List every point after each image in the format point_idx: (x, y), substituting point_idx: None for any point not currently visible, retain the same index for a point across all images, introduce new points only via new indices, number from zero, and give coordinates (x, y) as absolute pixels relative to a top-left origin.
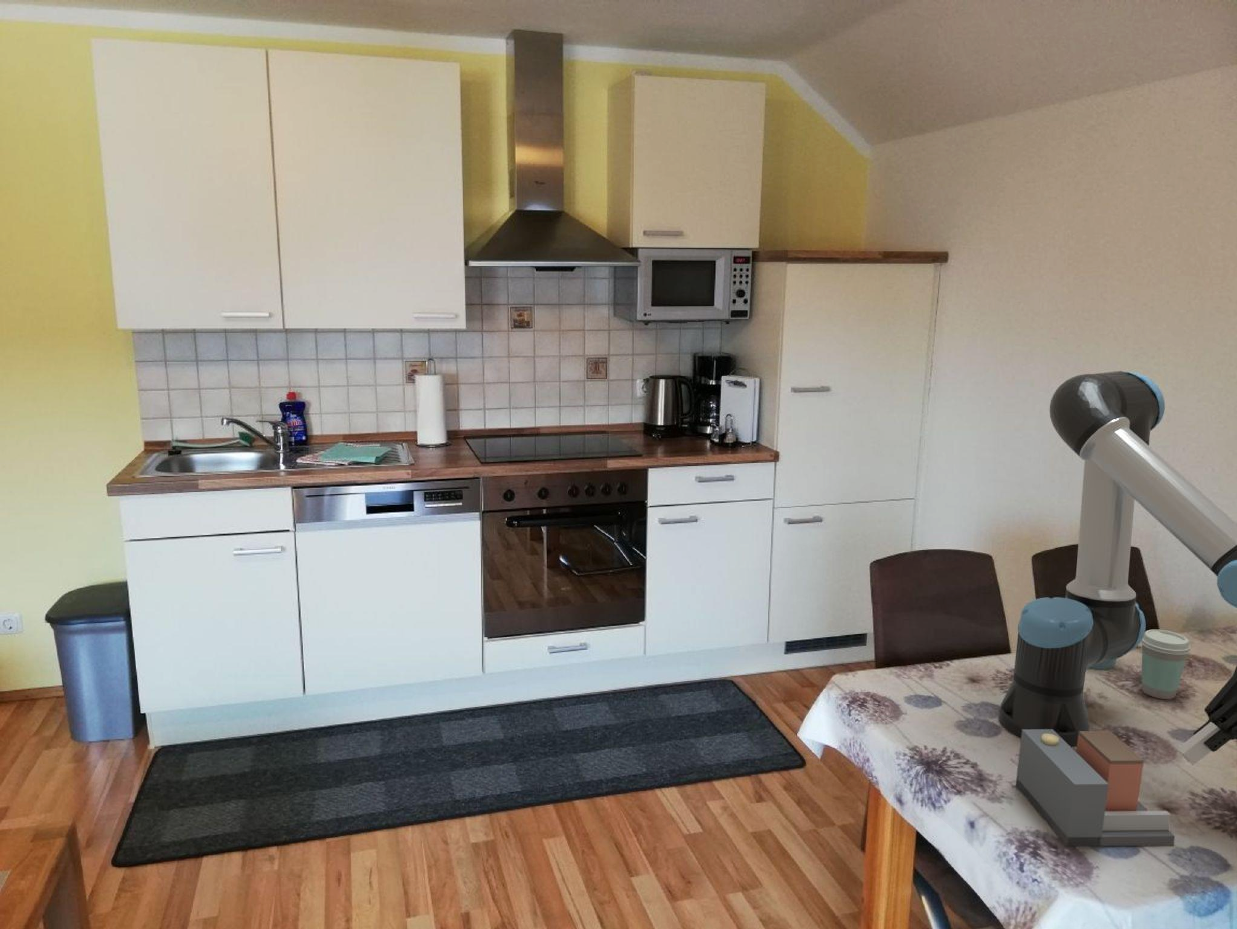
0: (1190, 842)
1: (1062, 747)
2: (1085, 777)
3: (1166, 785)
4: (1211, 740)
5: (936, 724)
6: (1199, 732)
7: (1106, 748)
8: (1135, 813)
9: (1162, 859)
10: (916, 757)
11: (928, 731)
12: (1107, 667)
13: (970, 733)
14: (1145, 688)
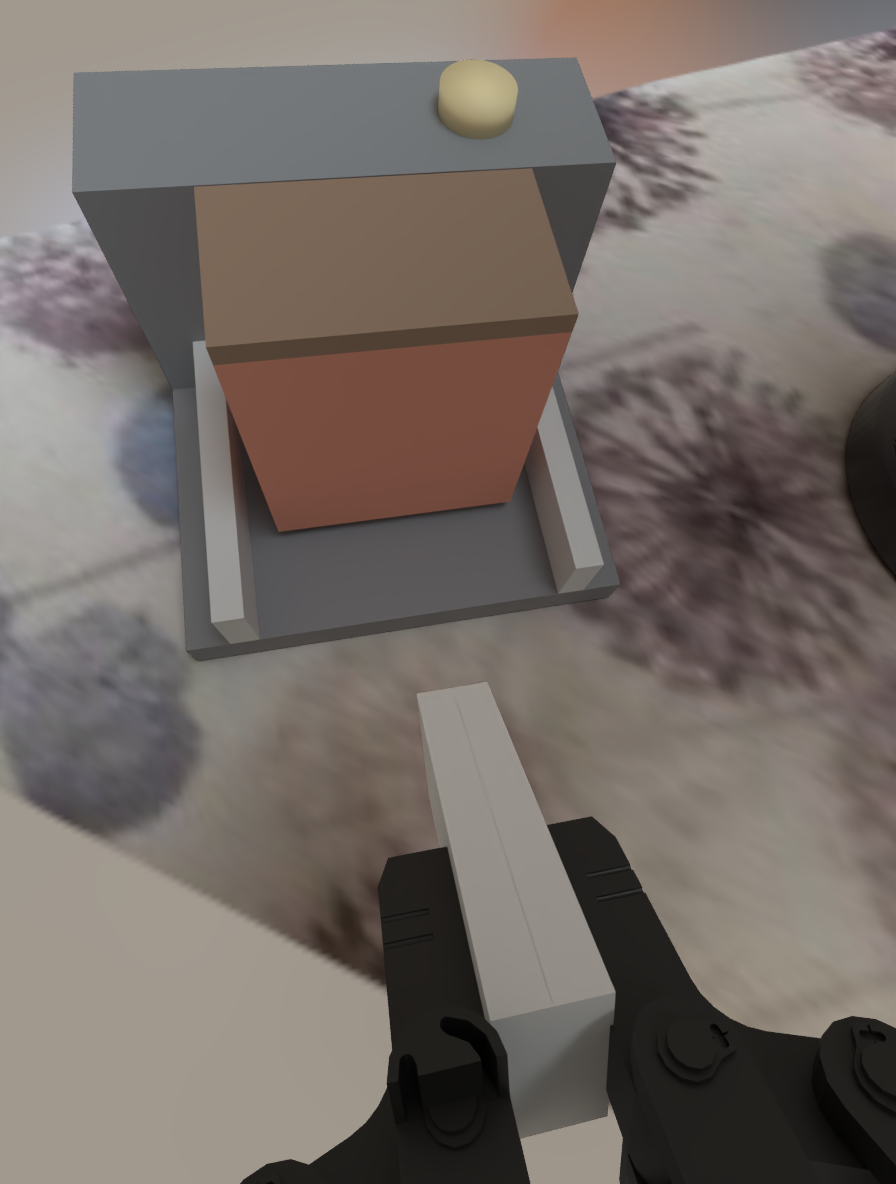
0: (222, 739)
1: (428, 139)
2: (139, 130)
3: (668, 834)
4: (419, 909)
5: (855, 190)
6: (534, 837)
7: (339, 217)
8: (212, 478)
9: (107, 581)
10: (622, 102)
11: (798, 161)
12: None
13: (835, 262)
14: None
